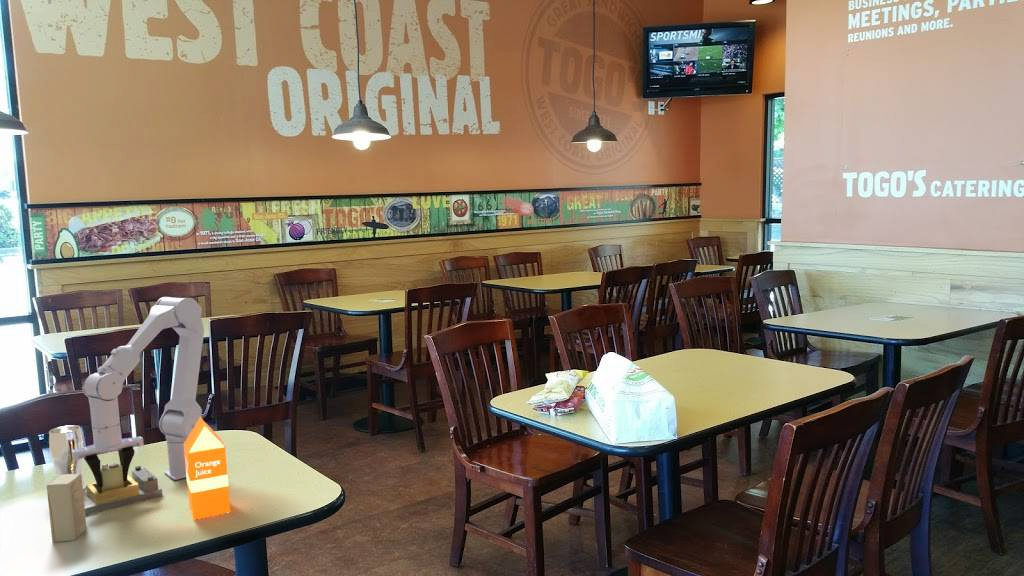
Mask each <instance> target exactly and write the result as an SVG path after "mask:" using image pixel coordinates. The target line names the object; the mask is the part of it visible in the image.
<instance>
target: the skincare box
mask: <svg viewBox="0 0 1024 576" xmlns="http://www.w3.org/2000/svg"><path fill="white" fill-rule="evenodd" d="M46 491H47V503H48V515H49V522H50V523H49V524H50V531H51V540H52V541H51V542H52V543H55V542H56V543H59V542H72V541H73V542H74V541H75V540H76V539H77V538H78V537H79V536H81V535H82V533H83V532H85V530H87V518H86V515H85V506H84V496H83V492H84V490H83V486H82V476H81V473H77V474H60V475H59V476H57V475H56V477H55V478H53V479H52V480H51V481H50V482H48V483H47V484H46Z"/></svg>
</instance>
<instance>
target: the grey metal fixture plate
mask: <svg viewBox="0 0 1024 576" xmlns="http://www.w3.org/2000/svg"><path fill="white" fill-rule="evenodd" d="M158 480H159V479H158V477H157V476H156V475H154V474H153V472H150V471H149V470H148V469H147V468H146V467H144V468H142V467H141V465H137V466H135V468H134V470H131V476H130V475H129V474H128V475H127V481H124V486H123V487H119V488H115V489H111V490H107V491H103V492H102V487H98V486H97V483H96V481H94V482H91V483H85V486H86V488H85V491H84V490H83V496H84V506H85V516H87V515H91V514H95V513H99V512H104V511H106V510H111V509H115V508H118V507H121V506H126V505H131V504H134V503H137V502H139V503H140V502H142V501H146V500H150V499H153V498H156V497H157V498H158V497H162V496H163V490H162V487H160V486H159V483H158V482H159V481H158Z"/></svg>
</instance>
